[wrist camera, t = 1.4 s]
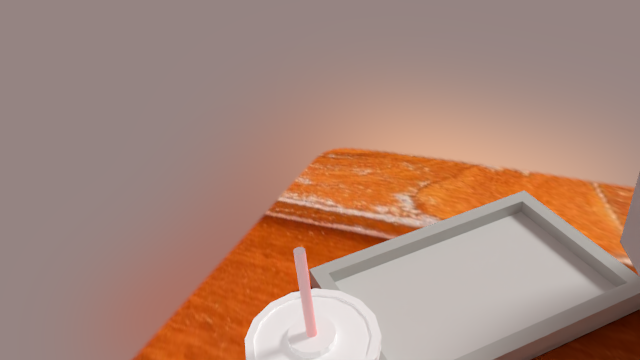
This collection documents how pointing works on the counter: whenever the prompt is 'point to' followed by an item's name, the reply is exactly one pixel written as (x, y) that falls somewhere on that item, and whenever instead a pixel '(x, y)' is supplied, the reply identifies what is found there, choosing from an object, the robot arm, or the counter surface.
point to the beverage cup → (313, 325)
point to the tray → (485, 285)
